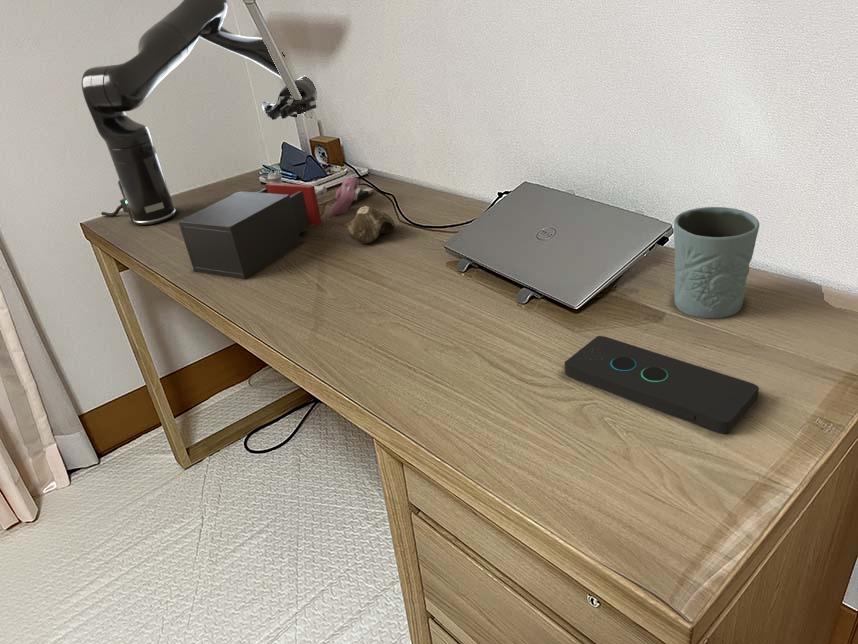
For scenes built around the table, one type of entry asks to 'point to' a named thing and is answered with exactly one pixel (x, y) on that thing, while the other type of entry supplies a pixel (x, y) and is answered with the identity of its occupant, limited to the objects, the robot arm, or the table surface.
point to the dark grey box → (240, 233)
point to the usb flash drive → (362, 193)
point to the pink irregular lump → (345, 195)
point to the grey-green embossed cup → (712, 260)
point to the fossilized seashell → (369, 224)
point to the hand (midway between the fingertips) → (277, 114)
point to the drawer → (300, 202)
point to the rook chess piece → (275, 177)
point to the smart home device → (664, 383)
